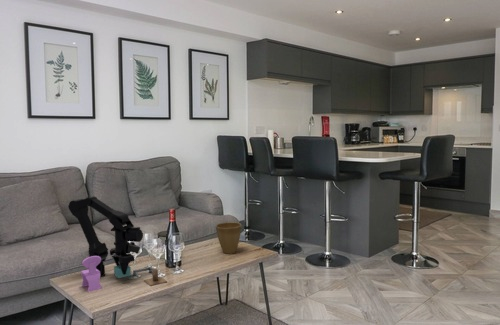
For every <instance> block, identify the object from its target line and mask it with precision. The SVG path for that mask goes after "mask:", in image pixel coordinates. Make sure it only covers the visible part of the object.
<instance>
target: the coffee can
mask: <svg viewBox="0 0 500 325" xmlns="http://www.w3.org/2000/svg"><path fill="white" fill-rule="evenodd" d="M167 231H168V230H162V231H159V232H157V234H156V235H157V239H158V238H160V239H161V240H162V242H163V243H164V244H165V240H166V234H167ZM159 260H161V261H166V260H165V254H163V255H162V256H161V258H160V259H159Z"/></svg>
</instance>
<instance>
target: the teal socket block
mask: <svg viewBox="0 0 500 325" xmlns="http://www.w3.org/2000/svg"><path fill="white" fill-rule="evenodd" d="M113 270H114V271H113V273H114V275H115V277H116V278H118V279H121V278H125V277H129V276H131V274H132V268H131V266H130V265H128V268H127V271H126V274H123V272H122V270H121V267H120V265H119V266H117V265H114V266H113Z"/></svg>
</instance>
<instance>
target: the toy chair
mask: <svg viewBox="0 0 500 325" xmlns="http://www.w3.org/2000/svg"><path fill="white" fill-rule="evenodd" d="M100 262H101V258H100V257H99V256H91V257H89V256H88V257H86V258H84V259H83V260H82V262H81V265H82V266H83V267H84V268H85V270H81V271H80V275H81V277H82V285H81V287H82V288H83V287H87V286H88V288H87V293H89V292H93V291H97V290H100V289H103V288H102V286H101V283H100V278H101V276H100V271H99V270H97V269H96V266H97V265H98V264H99V263H100Z"/></svg>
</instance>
